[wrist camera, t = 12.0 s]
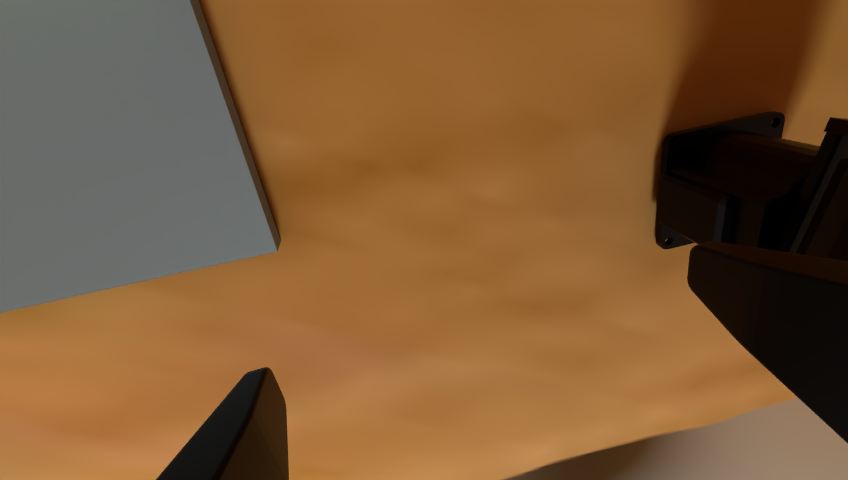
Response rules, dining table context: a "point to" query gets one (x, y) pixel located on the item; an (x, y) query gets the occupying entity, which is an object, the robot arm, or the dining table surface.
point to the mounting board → (118, 150)
